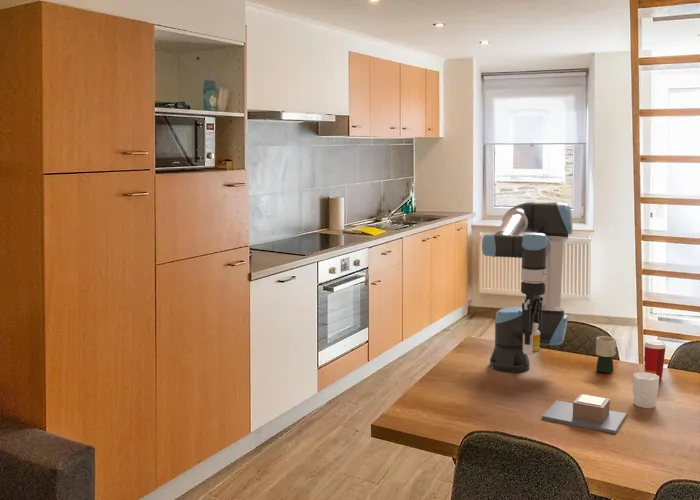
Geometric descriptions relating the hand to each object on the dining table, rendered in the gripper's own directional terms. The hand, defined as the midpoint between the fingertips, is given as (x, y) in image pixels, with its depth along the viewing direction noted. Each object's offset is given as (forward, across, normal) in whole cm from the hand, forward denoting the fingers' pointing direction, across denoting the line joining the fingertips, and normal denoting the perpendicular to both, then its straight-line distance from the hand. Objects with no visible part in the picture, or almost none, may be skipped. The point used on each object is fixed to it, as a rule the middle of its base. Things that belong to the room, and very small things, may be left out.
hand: (531, 351), depth 221 cm
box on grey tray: (+19, 0, -18) cm, 26 cm away
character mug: (+19, +51, -12) cm, 56 cm away
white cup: (+19, +23, -31) cm, 43 cm away
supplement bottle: (+1, 0, 0) cm, 1 cm away
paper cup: (+19, +52, -29) cm, 62 cm away
